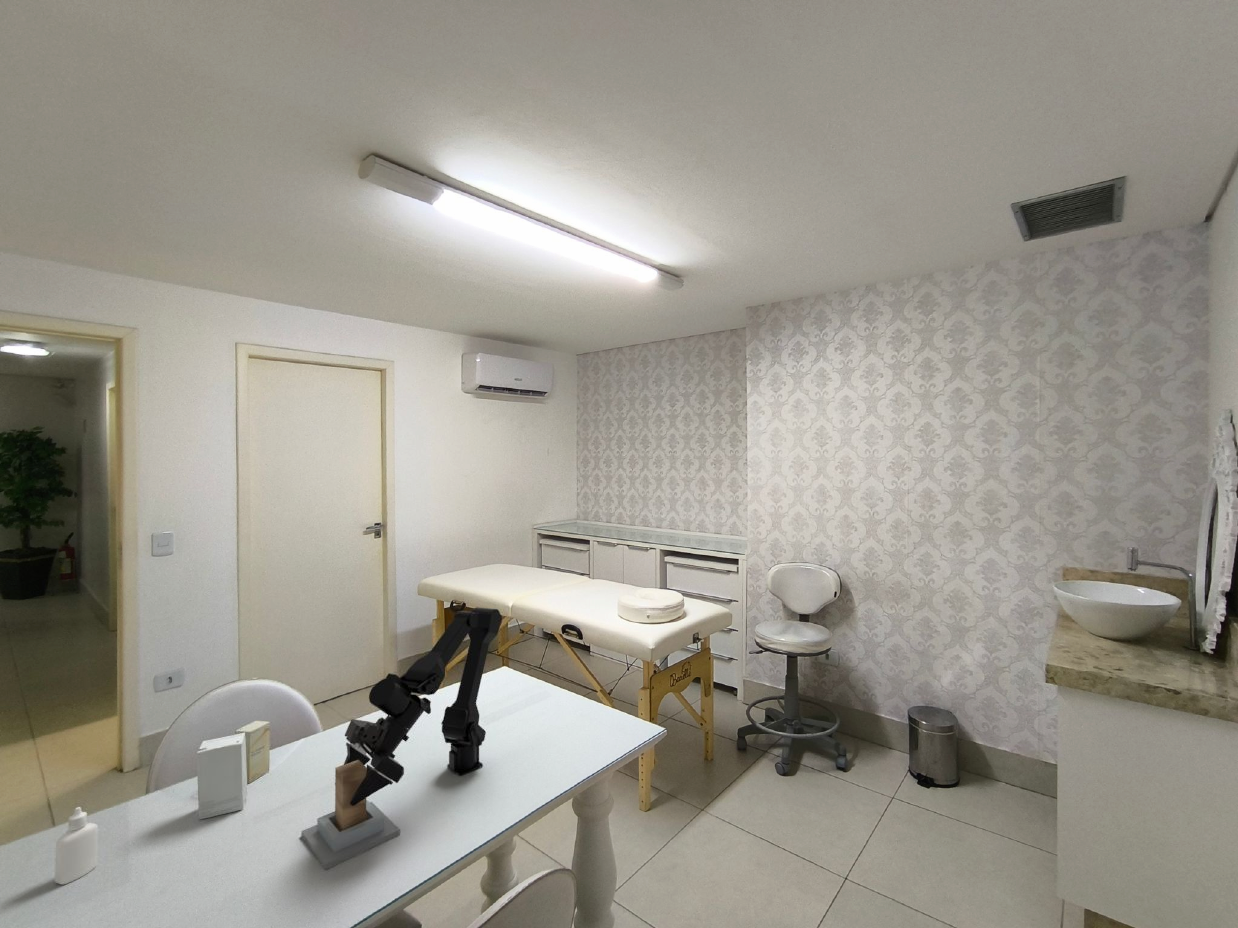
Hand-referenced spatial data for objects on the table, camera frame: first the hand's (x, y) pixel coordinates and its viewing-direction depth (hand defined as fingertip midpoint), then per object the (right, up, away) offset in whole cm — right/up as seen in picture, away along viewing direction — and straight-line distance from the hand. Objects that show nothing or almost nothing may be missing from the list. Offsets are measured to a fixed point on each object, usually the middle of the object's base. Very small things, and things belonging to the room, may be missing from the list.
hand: (343, 794), depth 111 cm
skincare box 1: (-32, -9, +10) cm, 34 cm away
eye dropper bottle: (-44, -9, -10) cm, 46 cm away
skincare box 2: (-34, -10, +23) cm, 42 cm away
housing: (+1, -9, +1) cm, 9 cm away
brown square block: (+1, -8, +1) cm, 8 cm away
